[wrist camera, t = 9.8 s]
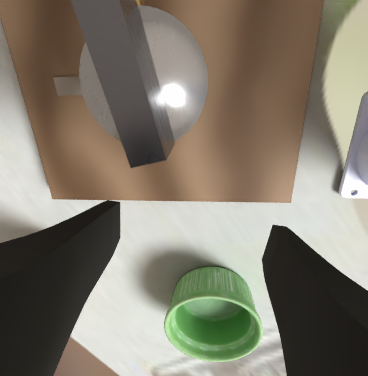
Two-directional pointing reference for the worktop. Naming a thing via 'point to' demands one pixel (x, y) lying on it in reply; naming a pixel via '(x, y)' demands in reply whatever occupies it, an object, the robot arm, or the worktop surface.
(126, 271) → the worktop surface
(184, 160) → the baseplate
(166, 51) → the silver rounded piece
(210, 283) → the ramekin
